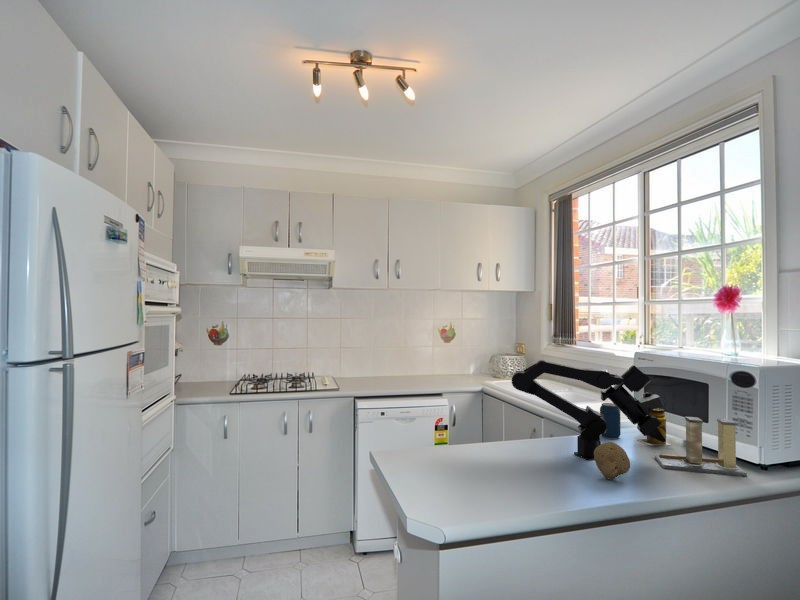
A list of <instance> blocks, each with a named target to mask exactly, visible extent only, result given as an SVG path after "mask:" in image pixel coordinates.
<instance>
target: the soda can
mask: <svg viewBox="0 0 800 600" xmlns="http://www.w3.org/2000/svg"><path fill="white" fill-rule="evenodd" d="M599 413H600V414H601V416H602V418H603V419H604V421H605V422H606V431H605V432H604V433H603V434H601V435H600V436H601V437H602V436H603V437H602V438H605V439H609V440H610V439H611V440H616V439H618V440H619V438H620V437H621V432H622V431H621V410H620V409H619V408H618V407H617V406H616V405H615V404H614V403H613V402H612V403H611V402H604V403H603V402H602V403H601V406H600V407H599Z"/></svg>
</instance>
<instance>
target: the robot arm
mask: <svg viewBox="0 0 800 600" xmlns="http://www.w3.org/2000/svg"><path fill="white" fill-rule="evenodd" d="M543 374H548V375H552V376H553V375H554V376H557V377H563V378H567V379H572V380H577V381H581V382H583V383H586V384H588V385H590V386H593V387H595V388H597V389H600V400H601V401H603V402H604V401H606V400H607V399H609V400H610V401H611V402H612V403H613V404H615V405H616V406H617V407H618V408H619V409H620V412H621V413H622V414H623V415H624V416H626V418H627V419H628V420H629V422H631V424H633V425H634V426H635V425H636V426H637V427H636V428H637V430H638V431H639V432H640V433H641V435H643V436H644V437H647V435H648V436H650V437H653V438H655V439H657V440H659V441H661V442H665V441H666V442H667V439H666V440H665V438H664V437H663V435H662V434H661V432H660V431H659V429H658V428H657V427H658V426H659V425H661V422H660V421H659V420H658V419H657V418H656V417H655V416H654V415H649V414H650V413H651V412H650V411H649V410H653V409H656V408H660V409H662V408H663V407H665V405H664V402H663V400H662V399H661V397H660V395H658V394H655V393H653V394H651V393H649V392H648V391H647V392H643V394H642V398H641V399H637V398H636V397H634V396H633V395H632V394H631V393H633V392H634V393H638V392H640V391H641V390H642V389H643V388H645V387H646V386H647V385H648V384H650V383H651V382H652V379H650V378H649V376H647V374H646V373H644V372H642V371H641V370H640V369H639V368H638V367H637V366H636V365H634V364H632V365H631V366H630V367H629V368H628V369H627V370H626V371H625V372H624V373H622V374H621V375H618V374H613V373H610V372H608V371H607V370H606V369H603V368H580V367H575V366H569V365H566V364H561V363H556V362H550V361H546V360H544V359H540V360H538V361H537V362H535V363H534V364H532V365H530V366H528V367H527V368H525V369H523V370H521V369H519V370H517V371H516V372H514V373H513V374H512V377H511V385H512V386H513V388H514V389H515V390H517V391H520V392H523V393H525V394H527V395H528V394H529V395H532V396H535V397H537V398H538V399H540V400H542V401H544V402H546V403H547V404H549V405H550V406H552V407H554V408H555V409H557V410H560V411H561V412H563V413H564V414H566V415H568V416H569V417H570V418H572V419H574V420H575V421H576V422H578V423H579V425H578V426H577V429H578V431H579V432H578V433H579V435H577V437H576V438H577V441H576V443H577V445H576V446H577V451H574V453H573V454H574V455H576V456H578V457H580V458H583V459H585V460H588V461H590V460H595V459H594V451H595V449H596V447H598V446H599V445H600V444H602V441H601V436H602V435H601V434H603V433H604V432H605V431H606V422H605V421H604V419H603V418H602V416H601V414H600V411H598V410H594V409H593V408H592V407H590V406H589V405H586V407H585V408H583V407H580V406H578V405H576V404H574V403H572V402H571V401H569V400H568V399H565V398H564V397H563V396H560V395H559V394H557V393H556V392H553V391H552V390H550V389H549V388H546V387H545V386H544V385H542V384H541V383H539V382H538V381H537V380H536V379H538V378H539V377H540V376H541V375H543ZM627 389H628V390H629V391H628V390H627ZM603 390H605V391H603ZM630 392H631V393H630ZM647 415H648V416H647Z"/></svg>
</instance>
